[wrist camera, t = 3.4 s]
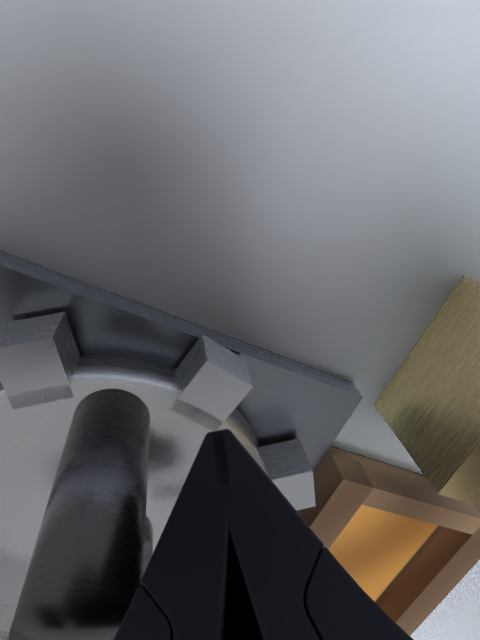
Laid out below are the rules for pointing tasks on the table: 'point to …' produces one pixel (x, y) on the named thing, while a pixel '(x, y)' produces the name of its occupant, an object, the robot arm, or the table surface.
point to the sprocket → (104, 470)
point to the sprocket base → (184, 353)
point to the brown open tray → (393, 533)
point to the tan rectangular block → (442, 398)
